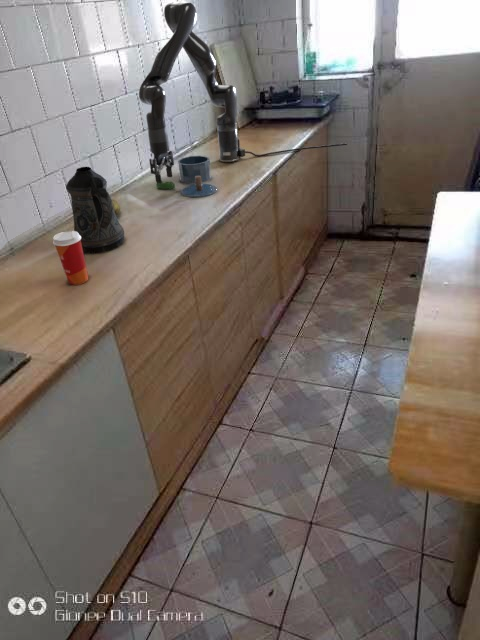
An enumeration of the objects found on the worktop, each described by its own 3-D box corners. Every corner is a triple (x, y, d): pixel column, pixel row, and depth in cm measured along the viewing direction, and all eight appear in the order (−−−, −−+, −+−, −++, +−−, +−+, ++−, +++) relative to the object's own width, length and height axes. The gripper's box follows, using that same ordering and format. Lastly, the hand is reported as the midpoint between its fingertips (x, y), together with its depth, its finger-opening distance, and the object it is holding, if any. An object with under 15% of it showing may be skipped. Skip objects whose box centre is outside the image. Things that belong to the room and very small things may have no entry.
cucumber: (155, 190, 202) (154, 182, 200) (159, 187, 205) (158, 179, 203) (172, 191, 199) (171, 183, 197) (177, 188, 202) (175, 181, 200)
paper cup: (68, 275, 142) (55, 231, 134) (94, 272, 142) (82, 228, 134) (62, 288, 135) (48, 242, 127) (89, 285, 136) (77, 240, 128)
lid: (205, 184, 204) (203, 168, 201) (224, 192, 194) (222, 176, 191) (175, 192, 198) (173, 176, 194) (193, 201, 188) (191, 184, 184)
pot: (200, 172, 219) (198, 154, 214) (217, 179, 209) (215, 159, 204) (174, 179, 212) (172, 160, 208) (190, 186, 203) (188, 166, 198)
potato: (129, 210, 184) (125, 190, 179) (112, 223, 174) (107, 202, 169) (111, 209, 186) (106, 189, 182) (92, 222, 176) (87, 201, 172)
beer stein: (94, 231, 169) (76, 159, 155) (142, 235, 163) (128, 161, 149) (65, 251, 156) (43, 175, 142) (116, 257, 150) (98, 178, 136)
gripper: (157, 144, 184) (163, 186, 193) (175, 135, 195) (180, 175, 203) (140, 143, 187) (147, 184, 196) (160, 135, 197) (165, 174, 206)
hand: (164, 180), depth 200 cm, fingers open, 8 cm apart
